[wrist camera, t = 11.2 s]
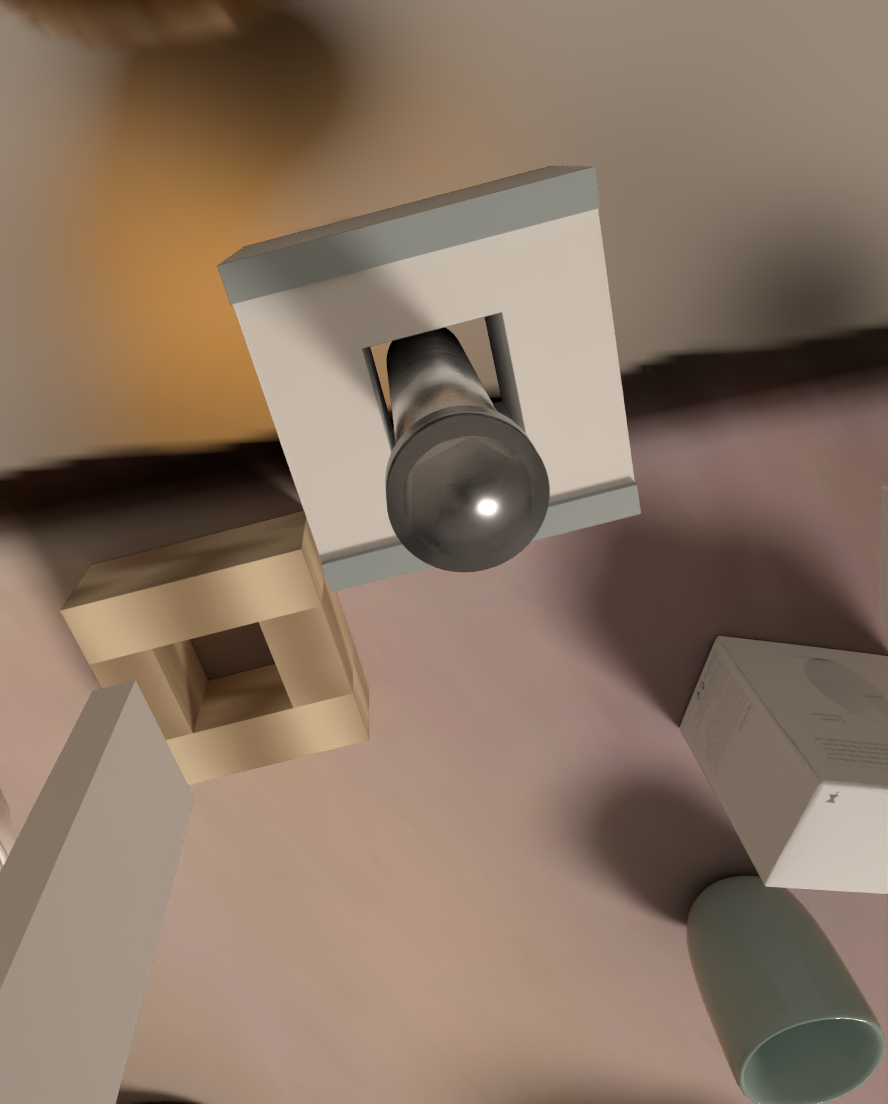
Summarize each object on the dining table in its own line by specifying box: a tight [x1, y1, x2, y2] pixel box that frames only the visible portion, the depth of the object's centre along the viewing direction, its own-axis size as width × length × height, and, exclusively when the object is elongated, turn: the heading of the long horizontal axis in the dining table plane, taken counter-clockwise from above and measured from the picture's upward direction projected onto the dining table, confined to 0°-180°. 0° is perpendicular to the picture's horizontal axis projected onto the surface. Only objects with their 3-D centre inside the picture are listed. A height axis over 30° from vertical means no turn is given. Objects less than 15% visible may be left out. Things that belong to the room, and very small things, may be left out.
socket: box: [217, 166, 641, 592], centre depth 30 cm, size 12×12×6 cm
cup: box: [686, 875, 885, 1104], centre depth 45 cm, size 8×8×10 cm
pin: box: [385, 327, 550, 572], centre depth 26 cm, size 4×4×15 cm
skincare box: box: [680, 636, 888, 894], centre depth 38 cm, size 10×6×10 cm, turn 79°
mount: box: [60, 511, 369, 785], centre depth 36 cm, size 10×10×4 cm
